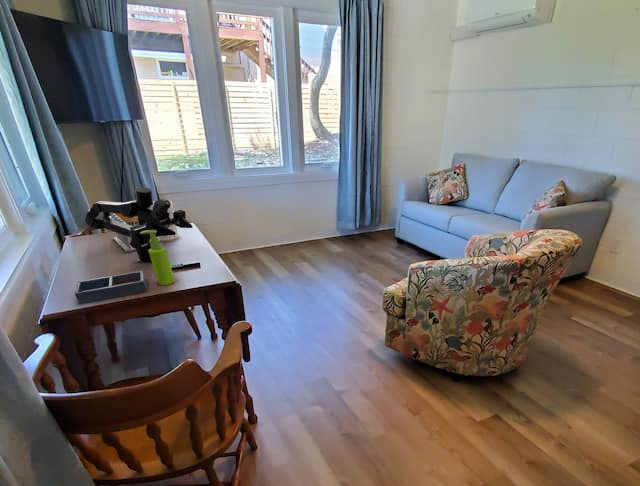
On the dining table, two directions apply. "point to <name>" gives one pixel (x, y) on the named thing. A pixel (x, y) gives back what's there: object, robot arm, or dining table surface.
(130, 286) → the divided storage box
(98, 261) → the dining table surface
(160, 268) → the soap dispenser
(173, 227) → the white upright cylinder
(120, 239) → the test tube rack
